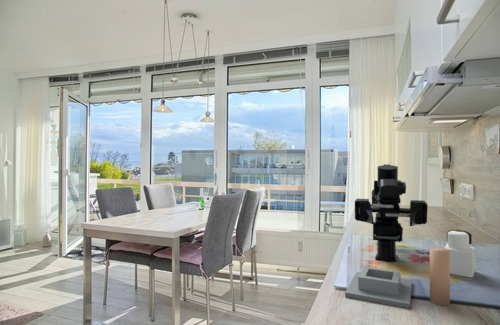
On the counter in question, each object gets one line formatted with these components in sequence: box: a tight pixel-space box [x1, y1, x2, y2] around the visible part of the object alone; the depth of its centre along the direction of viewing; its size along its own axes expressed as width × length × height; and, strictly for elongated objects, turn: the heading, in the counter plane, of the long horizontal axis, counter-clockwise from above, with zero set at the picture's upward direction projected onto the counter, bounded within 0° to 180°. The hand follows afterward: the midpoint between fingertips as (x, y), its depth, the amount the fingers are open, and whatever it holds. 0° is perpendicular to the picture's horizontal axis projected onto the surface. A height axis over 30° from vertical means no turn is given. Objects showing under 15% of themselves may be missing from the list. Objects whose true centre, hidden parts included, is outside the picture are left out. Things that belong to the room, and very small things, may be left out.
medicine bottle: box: [443, 229, 476, 279], centre depth 93 cm, size 7×7×12 cm
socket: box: [344, 265, 413, 309], centre depth 81 cm, size 16×14×4 cm
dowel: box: [429, 246, 451, 306], centre depth 74 cm, size 4×4×12 cm
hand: (391, 223), depth 84 cm, fingers open, 9 cm apart
